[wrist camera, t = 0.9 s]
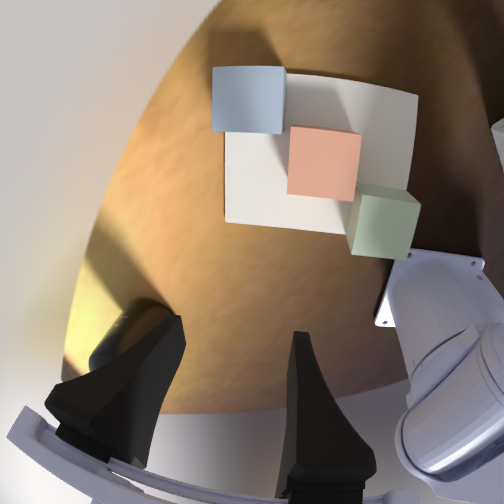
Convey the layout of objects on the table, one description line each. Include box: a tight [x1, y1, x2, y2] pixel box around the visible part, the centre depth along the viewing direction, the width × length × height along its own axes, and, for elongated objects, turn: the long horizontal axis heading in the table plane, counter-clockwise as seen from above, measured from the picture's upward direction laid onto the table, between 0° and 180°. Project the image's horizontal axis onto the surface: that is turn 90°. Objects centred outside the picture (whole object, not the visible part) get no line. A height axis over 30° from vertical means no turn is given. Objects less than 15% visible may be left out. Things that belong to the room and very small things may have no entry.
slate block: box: [212, 66, 287, 134], centre depth 15 cm, size 4×4×3 cm
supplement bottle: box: [89, 299, 172, 372], centre depth 24 cm, size 7×7×12 cm
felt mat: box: [225, 74, 418, 235], centre depth 18 cm, size 13×11×1 cm
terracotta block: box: [287, 124, 362, 202], centre depth 16 cm, size 4×4×3 cm
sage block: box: [346, 182, 421, 261], centre depth 17 cm, size 4×4×3 cm
